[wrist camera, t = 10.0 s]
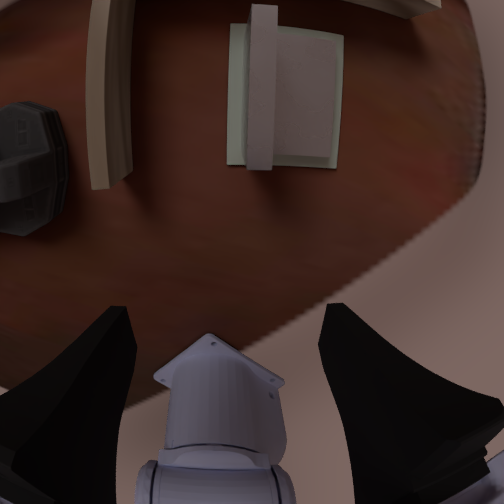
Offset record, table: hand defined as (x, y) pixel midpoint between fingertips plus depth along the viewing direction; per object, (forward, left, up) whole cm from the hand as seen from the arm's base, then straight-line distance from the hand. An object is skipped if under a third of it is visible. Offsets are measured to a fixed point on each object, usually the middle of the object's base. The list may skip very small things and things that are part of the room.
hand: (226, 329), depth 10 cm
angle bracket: (+4, -8, -9) cm, 13 cm away
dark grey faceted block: (+20, +12, -10) cm, 25 cm away
